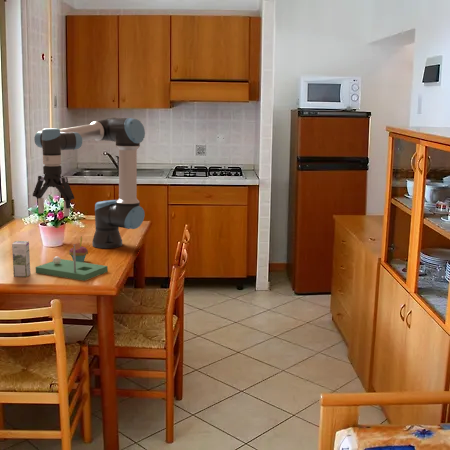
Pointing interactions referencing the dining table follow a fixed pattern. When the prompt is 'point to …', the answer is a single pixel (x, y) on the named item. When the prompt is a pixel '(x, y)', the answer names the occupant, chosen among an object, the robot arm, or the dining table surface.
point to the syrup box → (21, 258)
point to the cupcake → (79, 253)
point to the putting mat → (72, 268)
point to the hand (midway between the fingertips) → (53, 214)
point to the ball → (56, 260)
